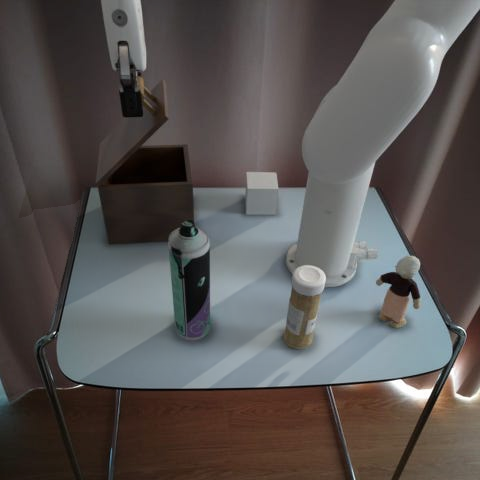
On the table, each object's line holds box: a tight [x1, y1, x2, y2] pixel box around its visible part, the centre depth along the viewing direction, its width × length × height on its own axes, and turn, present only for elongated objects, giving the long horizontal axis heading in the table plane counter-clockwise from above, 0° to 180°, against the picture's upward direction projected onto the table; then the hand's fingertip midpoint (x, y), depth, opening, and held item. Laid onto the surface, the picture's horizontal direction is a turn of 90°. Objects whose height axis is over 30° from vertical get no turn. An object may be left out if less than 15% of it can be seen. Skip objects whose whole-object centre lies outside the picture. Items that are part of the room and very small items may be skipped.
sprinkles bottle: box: [283, 265, 326, 350], centre depth 72 cm, size 5×5×14 cm
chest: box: [97, 143, 195, 245], centre depth 92 cm, size 16×14×12 cm
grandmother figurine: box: [375, 255, 421, 329], centre depth 76 cm, size 8×4×13 cm, turn 58°
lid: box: [95, 76, 170, 187], centre depth 82 cm, size 17×14×5 cm
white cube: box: [244, 171, 280, 216], centre depth 99 cm, size 6×6×6 cm
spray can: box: [167, 220, 211, 342], centre depth 70 cm, size 6×6×20 cm
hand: (133, 105), depth 80 cm, fingers closed on lid, 6 cm apart
